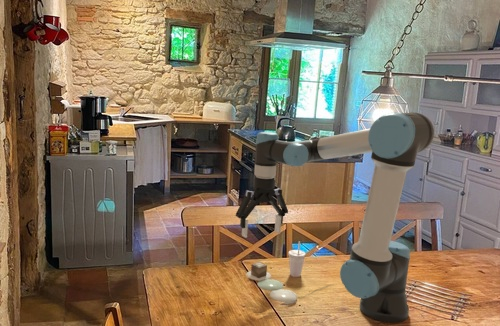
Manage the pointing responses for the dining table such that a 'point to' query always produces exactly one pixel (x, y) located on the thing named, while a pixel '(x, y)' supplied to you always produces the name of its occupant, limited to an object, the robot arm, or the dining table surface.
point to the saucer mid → (270, 284)
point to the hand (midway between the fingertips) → (261, 234)
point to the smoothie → (296, 261)
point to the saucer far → (258, 278)
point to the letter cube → (258, 269)
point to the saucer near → (284, 296)
